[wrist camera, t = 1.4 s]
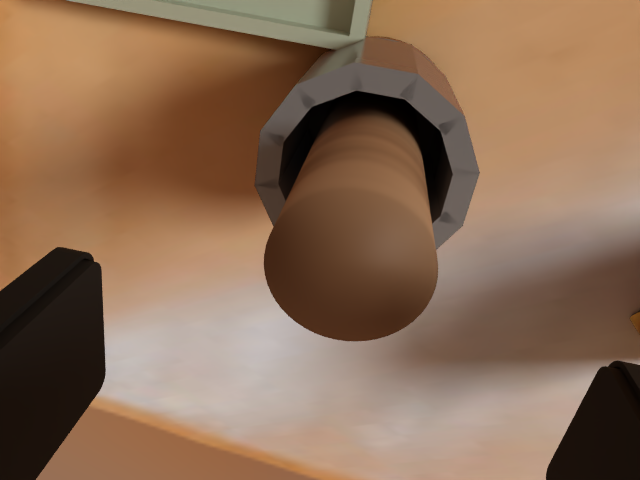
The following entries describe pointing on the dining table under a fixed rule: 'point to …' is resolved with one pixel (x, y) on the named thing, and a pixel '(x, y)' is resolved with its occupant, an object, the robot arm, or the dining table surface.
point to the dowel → (357, 225)
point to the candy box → (636, 321)
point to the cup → (384, 79)
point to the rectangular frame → (264, 17)
